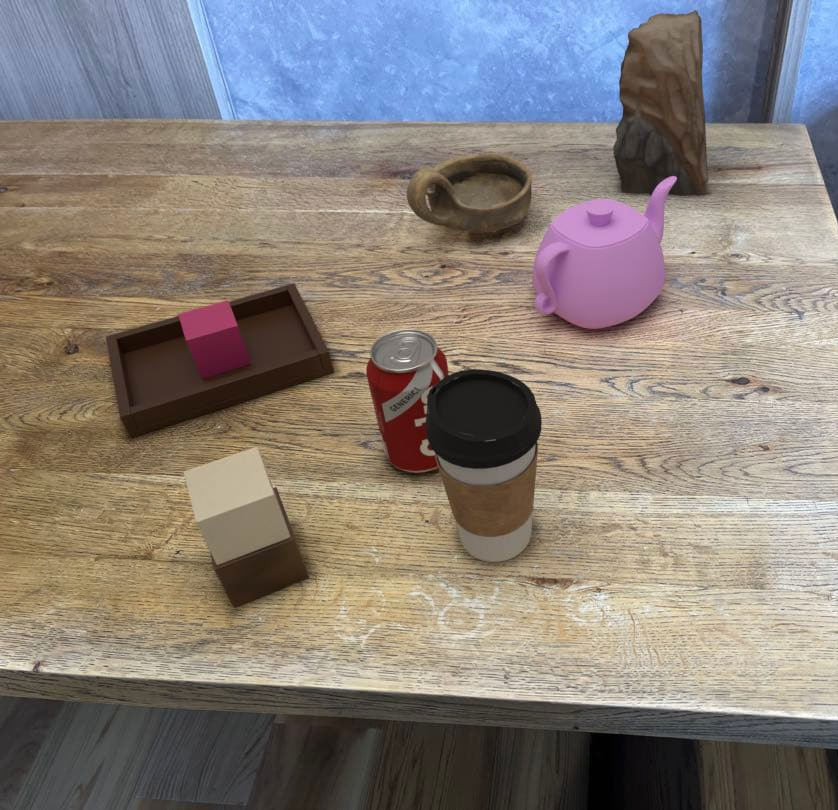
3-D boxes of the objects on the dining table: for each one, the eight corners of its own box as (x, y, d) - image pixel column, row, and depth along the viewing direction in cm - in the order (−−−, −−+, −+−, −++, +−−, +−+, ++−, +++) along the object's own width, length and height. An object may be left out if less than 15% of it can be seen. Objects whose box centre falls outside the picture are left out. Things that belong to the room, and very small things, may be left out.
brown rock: (611, 194, 110) (615, 39, 96) (615, 152, 119) (619, 5, 105) (707, 196, 108) (724, 39, 95) (703, 153, 118) (719, 5, 104)
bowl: (558, 218, 105) (556, 145, 99) (453, 274, 97) (443, 197, 90) (488, 184, 113) (482, 114, 106) (385, 232, 104) (371, 159, 98)
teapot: (579, 362, 84) (579, 264, 76) (499, 306, 92) (492, 212, 84) (709, 286, 93) (721, 192, 85) (627, 241, 101) (631, 151, 93)
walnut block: (233, 608, 63) (214, 569, 60) (219, 553, 67) (200, 513, 64) (309, 578, 65) (294, 538, 62) (291, 525, 69) (276, 486, 66)
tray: (130, 438, 78) (119, 417, 76) (115, 357, 87) (105, 336, 85) (334, 372, 84) (328, 351, 82) (300, 303, 93) (294, 282, 91)
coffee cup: (467, 486, 72) (448, 353, 62) (559, 507, 70) (555, 373, 59) (429, 561, 66) (401, 428, 56) (528, 586, 64) (518, 452, 54)
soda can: (374, 471, 73) (348, 369, 65) (401, 420, 78) (380, 319, 70) (445, 483, 72) (428, 380, 64) (468, 431, 77) (455, 329, 69)
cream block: (217, 565, 60) (195, 522, 57) (204, 514, 64) (183, 471, 60) (290, 537, 62) (274, 494, 58) (274, 489, 65) (257, 445, 62)
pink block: (201, 379, 83) (185, 340, 79) (193, 352, 86) (178, 313, 83) (251, 364, 84) (237, 325, 81) (241, 338, 87) (227, 299, 84)
